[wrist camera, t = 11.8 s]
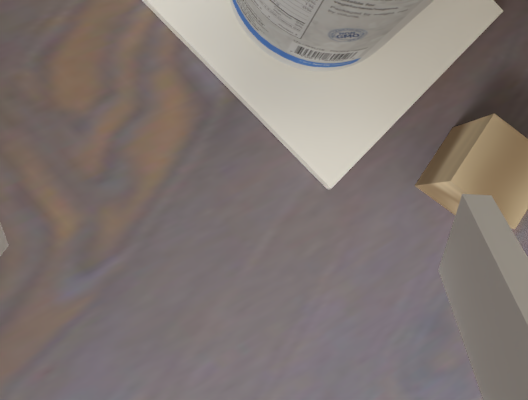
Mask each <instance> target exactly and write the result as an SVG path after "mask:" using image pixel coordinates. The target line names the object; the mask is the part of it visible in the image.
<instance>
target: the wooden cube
mask: <svg viewBox="0 0 528 400" xmlns="http://www.w3.org/2000/svg"><path fill="white" fill-rule="evenodd" d="M415 186H416V187H417V188H419V189H420V190H421V191H423V192H424V193H425V194H427V195H428V196H430V197H431V198H432V199H434V200H435V201H436V202H438V203H439V204H440V205H442V206H443V207H445V208H446V209H447V210H449V211H450V212H451V213H453V214H454V215H456V212H457V209H458V206H459V203H460V199H461V196H462V194H474V195H492V197H493V199H494V201H495V202H496V204H497V206H498V207H499V209H500V211H501V213H502V214H503V216H504V218H505V219H506V221H507V223H508V225H509V226H510V228H511V229H515V228H516V227H517V225H518V224H519V222H520V220H521V219H522V217H523V216H524V214H525V212H526V211H527V209H528V139H527V138H526V137H525V136H523V135H522V134H521V133H519V132H518V131H517V130H515V129H514V128H513V127H511V126H510V125H509V124H508V123H506V122H505V121H504V120H502V119H501V118H500V117H498V116H497V115H496V114H491V115H488V116H485V117H482V118H480V119H477V120H474V121H471V122H468V123H465V124H462V125H459V126H456V127H453V128H452V129H451V131H450V133H449V134H448V136H447V137H446V139H445V140H444V142H443V143H442V145H441V146H440V148H439V149H438V151H437V152H436V154H435V155H434V157H433V158H432V160H431V161H430V163H429V164H428V166H427V168H426V169H425V171H424V172H423V174H422V175H421V177H420V178H419V180H418V181H417V183H416V184H415Z"/></svg>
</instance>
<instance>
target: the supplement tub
mask: <svg viewBox="0 0 528 400" xmlns="http://www.w3.org/2000/svg"><path fill="white" fill-rule="evenodd" d="M433 1H434V0H230V3H231V6H232V9H233V11H234V14H235V16H236V18H237V20H238V22H239V24H240V25H241V27H242V28H243V30H244V31H245V32H246V34H247V35H248V36H249V38H250V39H251V40H252V41H253V42H254V43H255V44H256V45H257V46H258V47H259V48H260V49H261V50H263V51H264V52H265V53H267V54H268V55H270V56H271V57H273V58H274V59H276V60H278V61H280V62H282V63H284V64H286V65H289V66H292V67H295V68H298V69H302V70H309V71H333V70H339V69H343V68H346V67H350V66H352V65H355V64H357V63H359V62H362V61H363V60H365V59H367V58H368V57H370V56H371V55H372V54H374V53H375V52H376V51H377V50H379V49H380V48H381V47H382V46H383V45H385V44H386V43H387V42H388V41H389V40H390V39H391V38H392V37H394V36H395V35H396V34H397V33H398V32H399V31H400V30H401V29H402V28H403V27H405V26H406V25H407V24H408V23H409V22H410V21H411V20H412V19H413V18H415V17H416V16H417V15H418V14H419V13H420V12H421V11H423V10H424V9H425V8H426V7H427V6H428V5H429V4H431V3H432V2H433Z"/></svg>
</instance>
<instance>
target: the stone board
mask: <svg viewBox="0 0 528 400" xmlns="http://www.w3.org/2000/svg"><path fill="white" fill-rule="evenodd" d="M142 1H143V2H144V3H145V4H146V5H147V6H148V7H149V8H150V9H151V10H152V11H153V12H154V13H155V14H156V15H157V16H158V17H159V18H160V19H161V20H162V21H163V22H164V23H165V25H166V26H167V27H168V28H169V29H170V30H171V31H172V32H173V33H174V34H175V35H176V36H177V37H178V38H179V39H180V40H181V41H182V42H183V43H184V44H185V45H186V46H187V47H188V48H189V49H190V50H191V51H192V52H193V53H194V54H195V55H196V56H197V57H198V58H199V59H200V60H201V61H202V62H203V63H204V64H205V65H206V66H207V67H208V68H209V69H210V70H211V71H212V72H213V73H214V74H215V75H216V76H217V77H218V78H219V80H220V81H221V82H222V83H223V84H224V85H225V86H226V87H227V88H228V89H229V90H230V91H231V92H232V93H233V94H234V95H235V96H236V97H237V98H238V99H239V100H240V101H241V102H242V103H243V104H244V105H245V106H246V107H247V108H248V109H249V110H250V111H251V112H252V113H253V114H254V115H255V116H256V117H257V118H258V119H259V120H260V121H261V122H262V123H263V124H264V125H265V126H266V127H267V128H268V129H269V130H270V131H271V132H272V134H273V135H274V136H275V137H276V138H277V139H278V140H279V141H280V142H281V143H282V144H283V145H284V146H285V147H286V148H287V149H288V150H289V151H290V152H291V153H292V154H293V155H294V156H295V157H296V158H297V159H298V160H299V161H300V162H301V163H302V164H303V165H304V166H305V167H306V168H307V169H308V170H309V171H310V172H311V173H312V174H313V175H314V176H315V177H316V178H317V179H318V180H319V181H320V182H321V183H322V184H323V185H324V186H325V187H326V189H331V188H332V187H333V186H334V185H335V184H336V183H337V182H338V181H339V180H340V179H341V178H342V177H343V176H344V175H345V174H346V173H347V172H348V171H349V170H350V169H351V168H352V167H353V166H354V165H355V164H356V163H357V162H358V161H359V159H360V158H361V157H362V156H363V155H364V154H365V153H366V152H367V151H368V150H369V149H370V148H371V147H372V146H373V145H374V144H375V143H376V142H377V141H378V140H379V139H380V138H381V137H382V136H383V135H384V134H385V133H386V132H387V131H388V130H389V129H390V127H391V126H392V125H393V124H394V123H395V122H396V121H397V120H398V119H399V118H400V117H401V116H402V115H403V114H404V113H405V112H406V111H407V110H408V109H409V108H410V107H411V106H412V105H413V104H414V103H415V102H416V101H417V100H418V99H419V98H420V97H421V96H422V94H423V93H424V92H425V91H426V90H427V89H428V88H429V87H430V86H431V85H432V84H433V83H434V82H435V81H436V80H437V79H438V78H439V77H440V76H441V75H442V74H443V73H444V72H445V71H446V70H447V69H448V68H449V67H450V66H451V65H452V64H453V62H454V61H455V60H456V59H457V58H458V57H459V56H460V55H461V54H462V53H463V52H464V51H465V50H466V49H467V48H468V47H469V46H470V45H471V44H472V43H473V42H474V41H475V40H476V39H477V38H478V37H479V36H480V35H481V34H482V33H483V32H484V30H485V29H486V28H487V27H488V26H489V25H490V24H491V23H492V22H493V21H494V20H495V19H496V18H497V17H498V16H499V15H500V14H501V13H502V12H503V10H502V9H501V8H500V7H499V6H498V5H497V3H496V2H495V1H494V0H434V1H433V2H432V3H431V4H429V5H428V6H427V7H426V8H425V9H424V10H423V11H421V12H420V13H419V14H418V15H417V16H416V17H415V18H413V19H412V20H411V21H410V22H409V23H408V24H407V25H406V26H405V27H403V28H402V29H401V30H400V31H399V32H398V33H397V34H396V35H395V36H394V37H392V38H391V39H390V40H389V41H388V42H387V43H386V44H385V45H383V46H382V47H381V48H380V49H379V50H377V51H376V52H375V53H374V54H372V55H371V56H370V57H368V58H367V59H365V60H363V61H362V62H359V63H357V64H355V65H352V66H350V67H346V68H343V69H339V70H333V71H309V70H302V69H298V68H295V67H292V66H289V65H286V64H284V63H282V62H280V61H278V60H276V59H274V58H273V57H271V56H270V55H268V54H267V53H265V52H264V51H263V50H261V49H260V48H259V47H258V46H257V45H256V44H255V43H254V42H253V41H252V40H251V39H250V38H249V36H248V35H247V34H246V32H245V31H244V30H243V28H242V27H241V25H240V24H239V22H238V20H237V18H236V16H235V14H234V11H233V9H232V6H231V3H230V0H142Z"/></svg>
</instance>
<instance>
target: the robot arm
mask: <svg viewBox="0 0 528 400" xmlns="http://www.w3.org/2000/svg"><path fill="white" fill-rule="evenodd" d="M8 246H9V245H8V242H7V239H6V237H5V234H4V231H3V228H2V226H1V223H0V256H1V255H2V254H3V252H4V251H5V250H6V248H7V247H8ZM439 273H440V276H441V279H442V282H443V285H444V288H445V291H446V294H447V297H448V300H449V302H450V305H451V308H452V311H453V314H454V317H455V320H456V323H457V326H458V329H459V331H460V334H461V337H462V340H463V343H464V346H465V349H466V352H467V355H468V358H469V361H470V363H471V366H472V369H473V372H474V375H475V378H476V381H477V384H478V387H479V390H480V392H481V395H482V398H483V400H528V257H527V255H526V254H525V252H524V250H523V248H522V247H521V245H520V243H519V242H518V240H517V238H516V237H515V235H514V233H513V231H512V230H511V228H510V226H509V225H508V223H507V221H506V219H505V218H504V216H503V214H502V213H501V211H500V209H499V207H498V206H497V204H496V202H495V201H494V199H493V197H492V195H474V194H462V196H461V199H460V203H459V206H458V209H457V212H456V216H455V219H454V222H453V225H452V228H451V232H450V235H449V238H448V241H447V244H446V248H445V251H444V254H443V257H442V261H441V264H440V267H439Z"/></svg>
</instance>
